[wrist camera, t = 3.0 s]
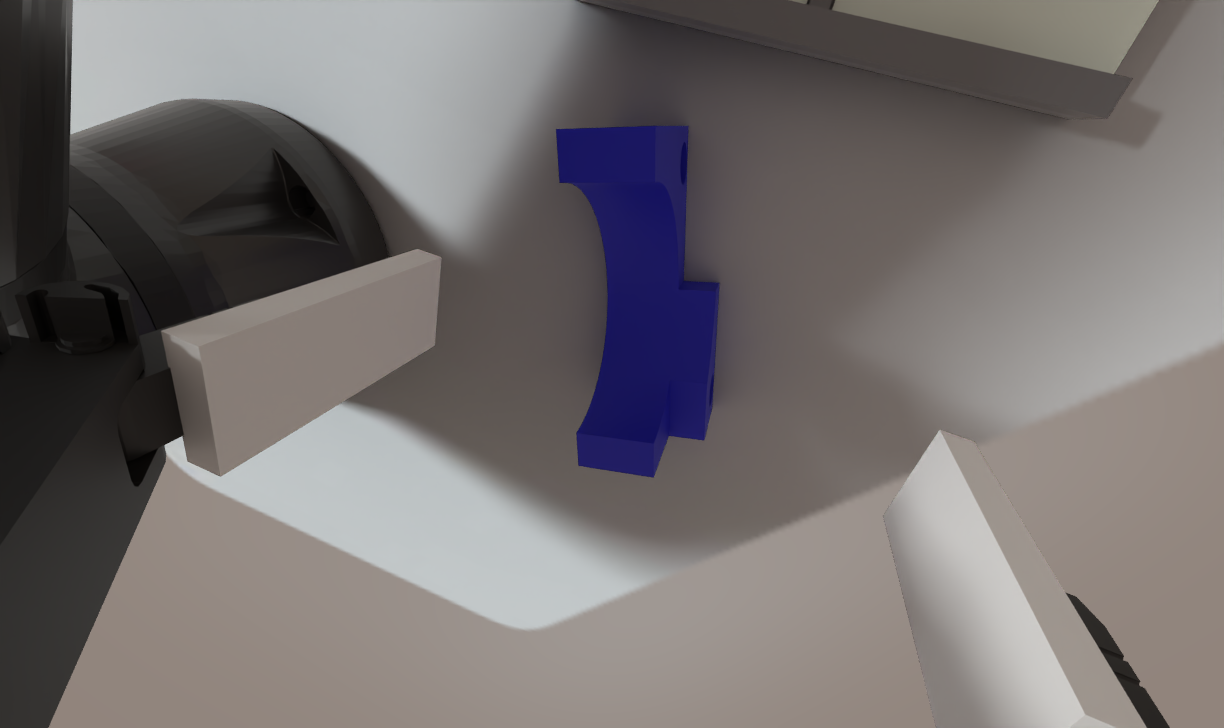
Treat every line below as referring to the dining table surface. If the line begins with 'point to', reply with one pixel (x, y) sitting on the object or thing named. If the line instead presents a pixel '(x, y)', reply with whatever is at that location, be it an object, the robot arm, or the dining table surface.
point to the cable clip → (643, 297)
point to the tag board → (944, 42)
